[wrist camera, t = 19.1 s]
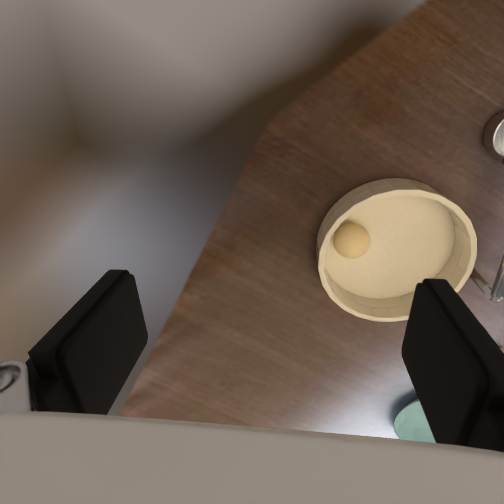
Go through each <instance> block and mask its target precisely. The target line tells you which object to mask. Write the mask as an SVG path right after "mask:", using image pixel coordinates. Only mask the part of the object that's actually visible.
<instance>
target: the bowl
mask: <svg viewBox="0 0 504 504" xmlns="http://www.w3.org/2000/svg"><path fill="white" fill-rule="evenodd" d="M349 223H355V224H359V225H361V226H363V227H364V228H365V229H366V230H367V231H368V233H369V235H370V246H369V249H368V250H367V252H366V253H365V254H364V255H362V256H361V257H358V258H354V259H349V258H345V257H343V256H341V255H340V254H339V253H338V252H337V251H336V249H335V247H334V242H333V241H334V235H335V233H336V231H337V230H338V229H339V228H340V227H341V226H343V225H345V224H349ZM316 256H317V263H318V270H319V274H320V278H321V282H322V285H323V287H324V288H325V290H326V292H327V293H328V295H329V297H330V298H331V299H332V300H333V301H334V302H335V303H336V304H338V305H339V306H340V307H341V308H342V309H344V310H345V311H347V312H349V313H351V314H353V315H355V316H357V317H361V318H364V319H368V320H372V321H385V322H395V321H401V320H408V318H409V314H410V309H411V305H412V301H413V296H414V292H415V288H416V285H417V283H422V281H423V280H424V279H425V278H435V279H446V280H447V281H448V282H449V284H450V285H451V286H452V287H453V289H454V290H455V291H456V293H457V292H458V291H459V290H460V289H461V288H462V287H463V285H464V284H465V282H466V281H467V279H468V277H469V276H470V274H471V273H472V270H473V267H474V263H475V260H476V257H477V236H476V234H475V231H474V228H473V226H472V223H471V221H470V219H469V218H468V217H467V215H466V214H465V213H464V212H463V211H462V210H461V208H460V207H459V206H458V205H456V204H455V203H454V202H453V201H451V200H450V199H449V198H447V197H446V196H445V195H443V194H442V193H440V192H438V191H437V190H435V189H434V188H432V187H430V186H429V185H427V184H424V183H421V182H419V181H416V180H410V179H404V178H388V179H381V180H376V181H373V182H369V183H366V184H364V185H362V186H359V187H357V188H355V189H354V190H352V191H350V192H348V193H347V194H346V195H344V196H343V197H342V198H341V199H339V200H338V201H337V202H336V203H335V204H334V205H333V206H332V208H331V209H330V210H329V211H328V213H327V214H326V216H325V218H324V219H323V221H322V224H321V226H320V228H319V232H318V235H317V242H316Z"/></svg>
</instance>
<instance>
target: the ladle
mask: <svg viewBox="0 0 504 504" xmlns="http://www.w3.org/2000/svg"><path fill="white" fill-rule="evenodd" d="M483 143H484V145H485V147H486V149H487V150H488V151H490V152H492V153H494V154H497V155H500V156H503V157H504V110H503V111H501V112H499V113H498V114H496V115H495V116H494V117H493V118H492V119H491V120H490V121H489V122H488V124H487V125H486V127H485V129H484V133H483ZM502 163H503V165H504V158H503V159H502ZM469 277H470V278H471V279H472V280H473V281H474V283H475V284H476V285H477V286H478V287H479V288H480V289H481V290H482V291H483V293H484V294H485V295H486V296H487V297H488V298H489V299H490V300H491V301H492V302H494V303H498V302H500V301H501V300H502V299H503V298H504V256H503V259H502V261H501V264H500V267H499V270H498V273H497V276H496V278H495V281H494V284H493V287H492V286H491V285H490V284H489V283H488V282H487V281H486V280H485V279H484V278H483V277H482V276H481V275H480V274H479V273H478V272H477V271H476V270H475V269H474V268H473V270H472V273H471V274H470V276H469Z"/></svg>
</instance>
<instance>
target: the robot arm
mask: <svg viewBox="0 0 504 504" xmlns="http://www.w3.org/2000/svg"><path fill="white" fill-rule="evenodd" d="M147 339H148V334H147V329H146V325H145V321H144V316H143V312H142V308H141V304H140V299H139V295H138V291H137V286H136V282H135V278H134V276H133V275H132V274H130V273H129V272H128V271H127V270H109V271H107V272H106V273H105V274H104V275H103V277H101V279H100V280H99V281H98V282H97V283H96V284H95V285H94V286H93V287H92V288H91V289H90V290H89V291H88V292H87V293H86V294H85V295H84V296H83V297H82V298H81V299H80V300H79V301H78V302H77V303H76V304H75V305H74V306H73V307H72V308H71V309H70V310H69V311H68V312H67V313H66V314H65V315H64V316H63V317H62V318H61V319H60V320H59V321H58V322H57V323H56V324H55V325H54V326H53V327H52V329H50V330H49V332H48V333H47V334H46V335H45V336H44V337H43V338H42V339H41V340H40V341H39V342H38V343H37V344H36V345H35V346H34V347H33V348H32V349H31V350H30V351H29V352H28V354H29V356H30V359H28V360H27V362H26V363H24V362H22V361H20V360H6V361H2V362H0V504H504V353H503V352H502V350H501V349H500V348H499V346H498V345H497V344H496V343H495V341H494V340H493V339H492V337H491V336H490V335H489V333H488V332H487V331H486V330H485V328H484V327H483V326H482V325H481V324H480V322H479V321H478V320H477V319H476V317H475V316H474V315H473V313H472V312H471V311H470V310H469V308H468V307H467V306H466V304H465V303H464V302H463V300H462V299H461V298H460V297H459V295H458V294H457V293H456V291H455V290H454V289H453V287H452V286H451V285H450V284H449V282H448V281H447V280H446V279H435V278H425V279H424V280H423V281H422V283H417V285H416V288H415V292H414V296H413V301H412V305H411V309H410V314H409V318H408V322H407V327H406V331H405V336H404V340H403V344H402V358H403V361H404V363H405V366H406V368H407V371H408V373H409V376H410V378H411V381H412V383H413V386H414V389H415V391H416V394H417V396H418V399H419V401H420V404H421V406H422V409H423V411H424V414H425V416H426V419H427V422H428V424H429V427H430V429H431V432H432V434H433V437H434V439H435V442H436V443H430V442H421V441H411V440H401V439H392V438H380V437H369V436H357V435H346V434H335V433H323V432H312V431H300V430H289V429H277V428H265V427H253V426H240V425H228V424H216V423H203V422H191V421H178V420H165V419H152V418H139V417H126V416H113V415H107V413H108V412H109V410H110V408H111V406H112V405H113V403H114V401H115V399H116V397H117V395H118V394H119V392H120V390H121V388H122V387H123V385H124V383H125V381H126V380H127V377H128V376H129V374H130V372H131V371H132V369H133V367H134V365H135V364H136V362H137V360H138V358H139V356H140V355H141V353H142V351H143V349H144V347H145V346H146V344H147Z"/></svg>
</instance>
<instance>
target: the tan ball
mask: <svg viewBox="0 0 504 504" xmlns="http://www.w3.org/2000/svg"><path fill="white" fill-rule="evenodd" d="M333 242H334V247H335V249H336V251H337V252H338V253H339V254H340V255H341V256H343V257H345V258H349V259H354V258H358V257H361V256H362V255H364V254H365V253H366V252H367V250H368V249H369V246H370V235H369V233H368V231H367V230H366V229H365V228H364V227H363V226H361V225H359V224H355V223H349V224H345V225H343V226H341V227H340V228H339V229H338V230H337V231H336V233H335V235H334V241H333Z"/></svg>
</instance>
